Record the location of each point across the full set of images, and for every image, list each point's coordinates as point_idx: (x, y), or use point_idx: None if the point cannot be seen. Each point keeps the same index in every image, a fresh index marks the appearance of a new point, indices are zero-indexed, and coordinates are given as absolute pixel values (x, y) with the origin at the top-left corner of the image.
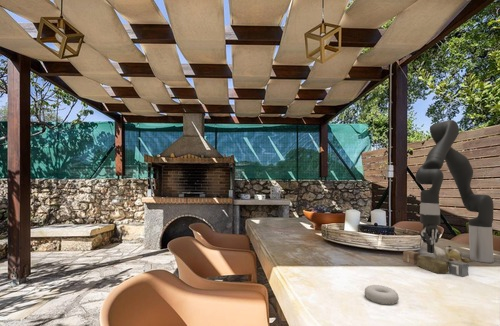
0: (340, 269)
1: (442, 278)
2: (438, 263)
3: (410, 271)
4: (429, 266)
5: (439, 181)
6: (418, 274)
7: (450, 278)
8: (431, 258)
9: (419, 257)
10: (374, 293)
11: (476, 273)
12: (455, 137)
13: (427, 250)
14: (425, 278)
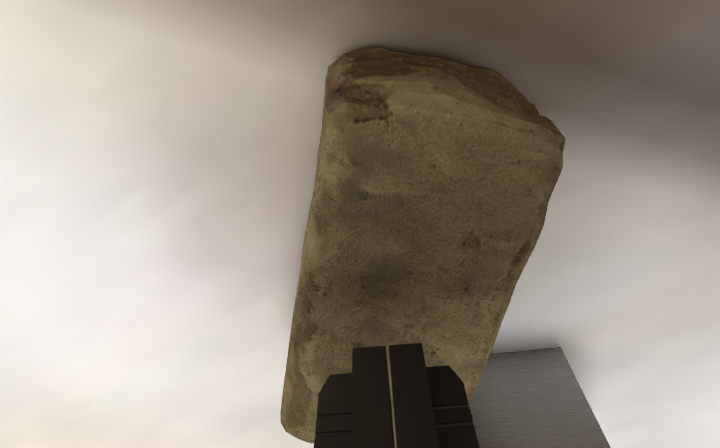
0: None
1: (212, 421)
2: (294, 431)
3: (40, 193)
4: (298, 282)
5: None
6: (59, 292)
7: (289, 438)
8: (407, 301)
9: (322, 145)
10: None
11: (709, 425)
12: None
13: (319, 395)
14: (39, 383)
